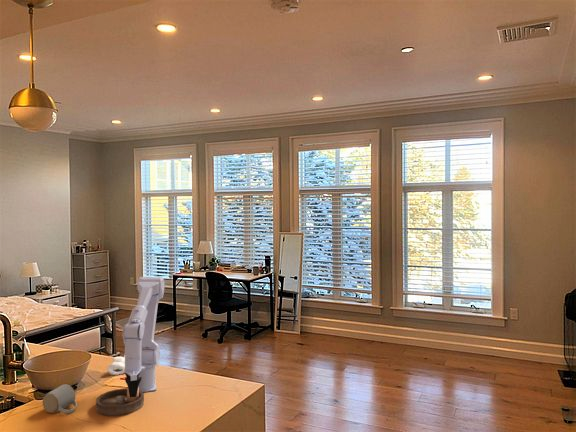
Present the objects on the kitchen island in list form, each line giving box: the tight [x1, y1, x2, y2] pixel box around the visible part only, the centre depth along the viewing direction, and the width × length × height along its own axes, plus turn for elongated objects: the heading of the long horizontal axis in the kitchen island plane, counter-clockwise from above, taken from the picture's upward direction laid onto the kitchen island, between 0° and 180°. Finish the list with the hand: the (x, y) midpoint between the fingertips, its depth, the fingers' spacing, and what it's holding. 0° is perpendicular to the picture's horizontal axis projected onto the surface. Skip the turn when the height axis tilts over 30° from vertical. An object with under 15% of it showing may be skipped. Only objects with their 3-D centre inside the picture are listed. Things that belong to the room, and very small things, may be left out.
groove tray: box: [95, 388, 145, 417], centre depth 160 cm, size 16×16×3 cm
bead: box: [126, 386, 139, 403], centre depth 161 cm, size 4×4×5 cm
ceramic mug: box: [42, 383, 78, 414], centre depth 156 cm, size 11×8×8 cm
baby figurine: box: [107, 354, 125, 376], centre depth 195 cm, size 9×12×8 cm
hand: (132, 393), depth 161 cm, fingers open, 5 cm apart
